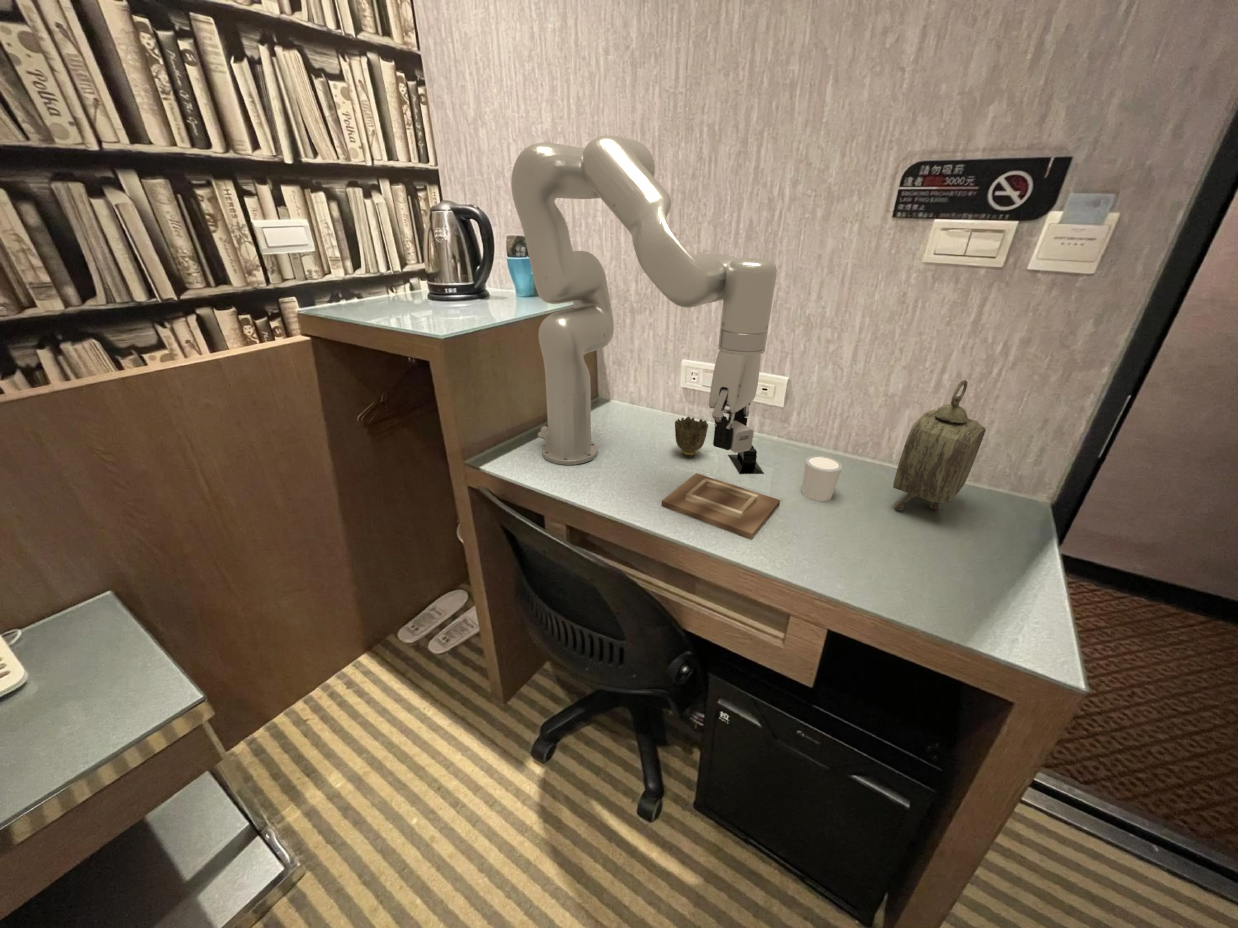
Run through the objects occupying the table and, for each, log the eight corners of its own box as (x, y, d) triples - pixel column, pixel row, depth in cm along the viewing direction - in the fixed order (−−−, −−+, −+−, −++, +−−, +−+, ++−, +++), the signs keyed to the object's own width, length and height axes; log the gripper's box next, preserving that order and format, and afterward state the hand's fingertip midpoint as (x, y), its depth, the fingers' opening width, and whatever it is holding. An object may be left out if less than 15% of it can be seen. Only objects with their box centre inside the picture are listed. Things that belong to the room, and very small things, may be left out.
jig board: (661, 505, 96) (662, 495, 95) (695, 477, 106) (696, 467, 105) (751, 539, 87) (753, 527, 86) (779, 505, 97) (781, 494, 96)
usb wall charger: (732, 453, 88) (735, 432, 86) (709, 438, 93) (711, 418, 91) (750, 449, 89) (754, 428, 87) (727, 435, 95) (729, 415, 93)
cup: (710, 453, 117) (713, 421, 114) (696, 465, 112) (700, 431, 108) (681, 445, 121) (683, 414, 117) (666, 456, 115) (669, 424, 111)
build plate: (770, 479, 108) (773, 460, 106) (736, 480, 107) (739, 460, 105) (752, 453, 119) (755, 436, 117) (721, 454, 118) (724, 436, 116)
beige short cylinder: (836, 490, 103) (843, 459, 100) (833, 506, 97) (841, 474, 94) (801, 482, 106) (807, 452, 102) (796, 497, 100) (803, 466, 97)
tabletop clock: (910, 484, 106) (949, 368, 94) (959, 501, 100) (1006, 379, 89) (884, 510, 96) (923, 384, 85) (936, 529, 91) (985, 397, 79)
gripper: (741, 328, 90) (729, 422, 99) (697, 347, 78) (687, 453, 86) (782, 335, 87) (766, 432, 95) (743, 355, 74) (728, 465, 82)
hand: (729, 441), depth 90 cm, fingers closed on usb wall charger, 5 cm apart
